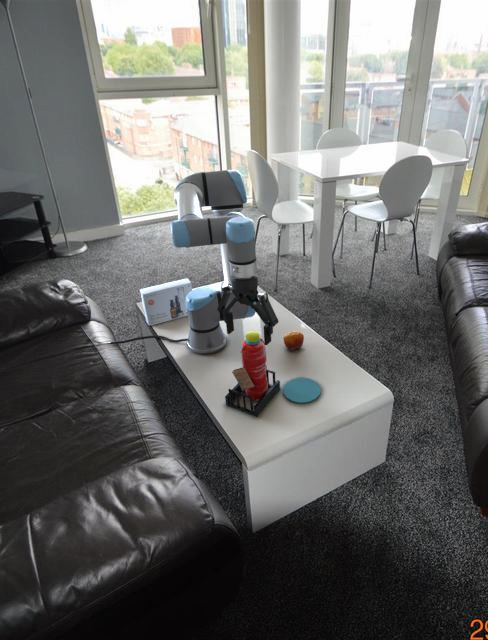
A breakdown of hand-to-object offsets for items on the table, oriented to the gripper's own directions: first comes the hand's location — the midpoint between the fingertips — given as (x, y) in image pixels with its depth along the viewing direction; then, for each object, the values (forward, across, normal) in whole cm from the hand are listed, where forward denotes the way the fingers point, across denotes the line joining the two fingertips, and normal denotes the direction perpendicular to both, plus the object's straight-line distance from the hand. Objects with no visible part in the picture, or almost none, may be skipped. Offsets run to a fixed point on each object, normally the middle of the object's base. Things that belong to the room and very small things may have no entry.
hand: (248, 337), depth 135 cm
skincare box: (+24, -61, +28) cm, 71 cm away
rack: (+24, 0, 0) cm, 25 cm away
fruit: (+24, -2, +33) cm, 41 cm away
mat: (+24, +13, +11) cm, 30 cm away
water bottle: (+25, 0, 0) cm, 25 cm away
